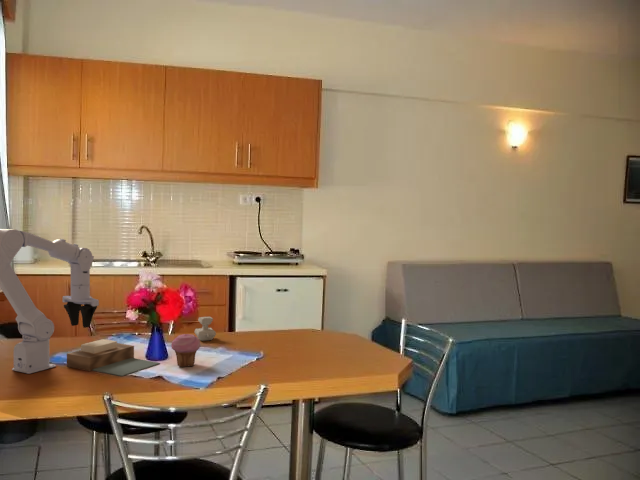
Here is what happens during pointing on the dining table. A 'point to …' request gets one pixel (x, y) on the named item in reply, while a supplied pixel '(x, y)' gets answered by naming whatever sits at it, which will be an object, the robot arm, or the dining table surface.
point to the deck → (99, 357)
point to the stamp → (205, 329)
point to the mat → (126, 366)
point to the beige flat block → (98, 346)
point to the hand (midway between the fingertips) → (80, 326)
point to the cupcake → (185, 349)
